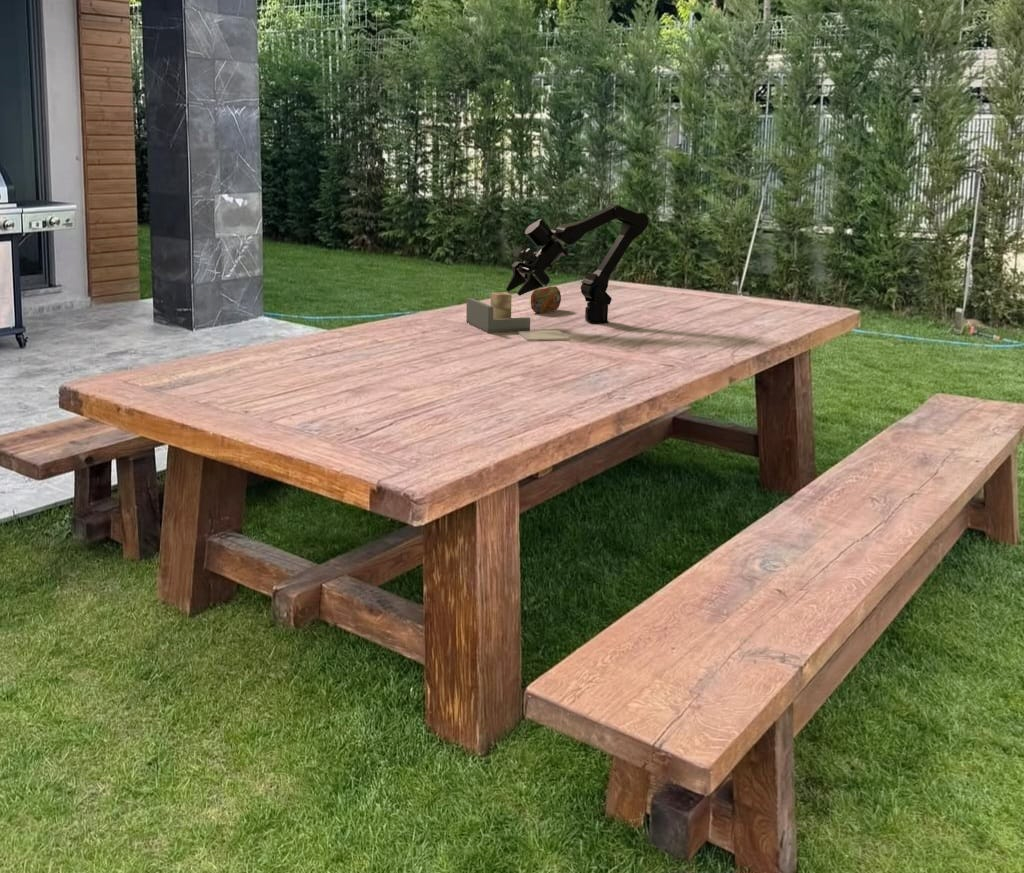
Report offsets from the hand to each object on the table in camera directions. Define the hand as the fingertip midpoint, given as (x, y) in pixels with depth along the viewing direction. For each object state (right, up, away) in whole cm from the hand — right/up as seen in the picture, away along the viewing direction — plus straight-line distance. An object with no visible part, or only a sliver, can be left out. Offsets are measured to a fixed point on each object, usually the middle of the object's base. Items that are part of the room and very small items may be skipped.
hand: (512, 292), depth 349 cm
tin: (+11, -3, +32) cm, 34 cm away
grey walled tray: (-5, -11, +1) cm, 12 cm away
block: (-4, -8, +1) cm, 9 cm away
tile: (+9, -15, -14) cm, 22 cm away
